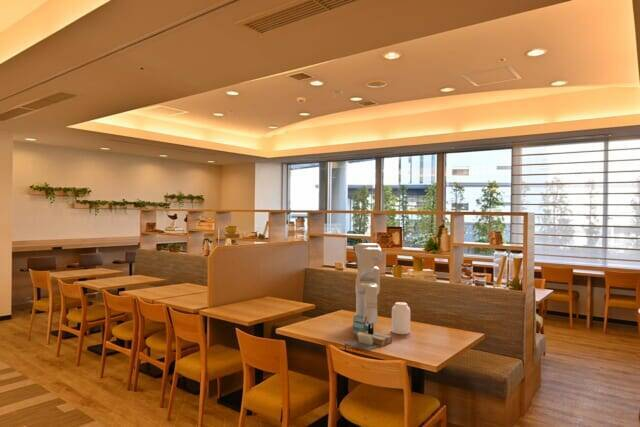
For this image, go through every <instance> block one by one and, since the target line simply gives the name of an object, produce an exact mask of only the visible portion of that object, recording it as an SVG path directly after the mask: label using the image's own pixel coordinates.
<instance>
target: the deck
mask: <svg viewBox="0 0 640 427" xmlns="http://www.w3.org/2000/svg"><path fill="white" fill-rule="evenodd" d="M361 332H362V333H366V334H368V330H364V331H361ZM358 333H359V332H358ZM358 333H354V340H358V336H357V334H358ZM370 335H371V334H370ZM371 336H372V340H373V344H376V345H380V346H379V347H383V346H386V345H388V344H391V343H393V336H392V335H390V334H386V333H382V332H379V331H378V332H377V331H373V334H372V335H371Z"/></svg>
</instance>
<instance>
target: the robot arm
mask: <svg viewBox="0 0 640 427" xmlns="http://www.w3.org/2000/svg"><path fill="white" fill-rule="evenodd" d="M354 253H355V255H356V260H357V275H356V278H355V285H354V286H355V287H354V289H355V296H356V297H355V301H356V302H355V316H356V315H363V323H365V326H367V328H368V334H371V335H372V334H373V331H374V330H375V329H374V328H375V325H376V323H377V322H378V317H379V316H378V295H379V293H380V290H381V286H380V285H381V276H380V275H381V273H380V268H379V267H378V266H375V261H381V260H382V258H383V251H382V248H381V246H380V244H379V243H373V242H371V243H369V242H359V243H355V245H354ZM361 280H362V281H361ZM363 280H364V281H363ZM365 280H366V281H365ZM367 280H368V281H367ZM369 280H371V281H369ZM374 332H375V331H374Z"/></svg>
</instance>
